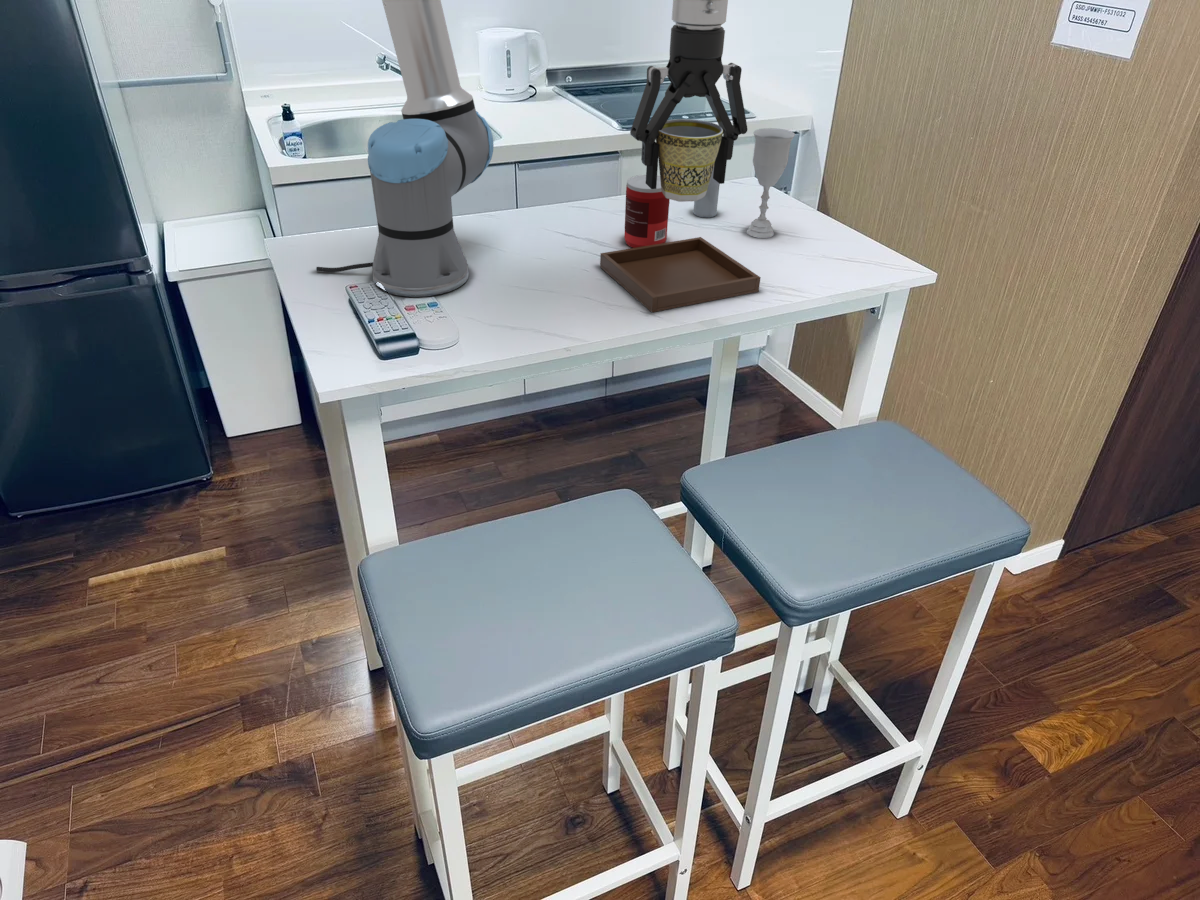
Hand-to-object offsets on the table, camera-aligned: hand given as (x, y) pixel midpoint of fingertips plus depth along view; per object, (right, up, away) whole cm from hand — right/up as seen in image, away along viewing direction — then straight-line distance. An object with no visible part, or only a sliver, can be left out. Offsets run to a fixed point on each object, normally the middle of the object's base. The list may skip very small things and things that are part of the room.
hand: (685, 183), depth 129 cm
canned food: (-5, -4, +22) cm, 23 cm away
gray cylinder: (+7, +5, +35) cm, 36 cm away
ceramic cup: (+1, -1, +1) cm, 2 cm away
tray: (0, -13, +9) cm, 16 cm away
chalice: (+17, -1, +27) cm, 32 cm away
